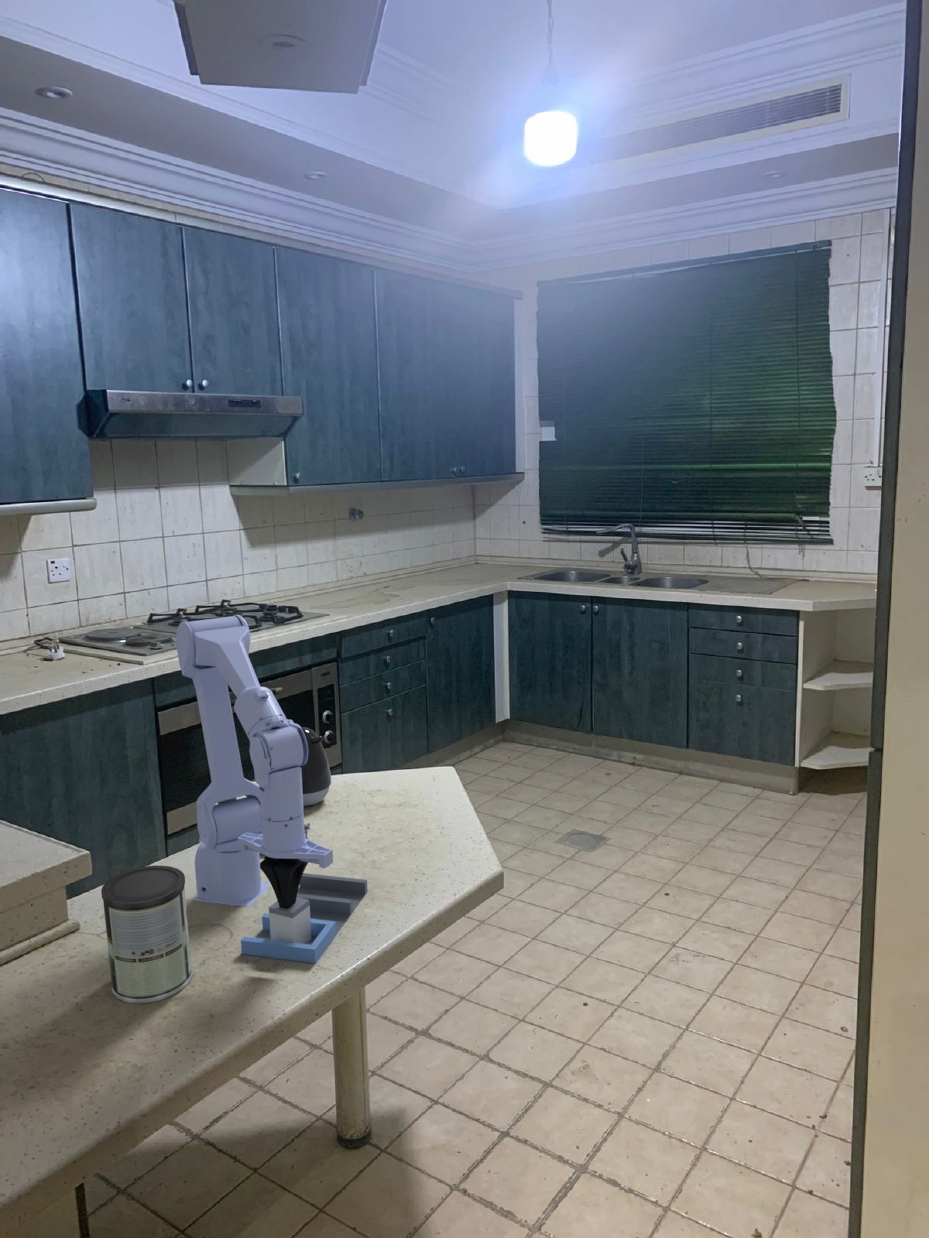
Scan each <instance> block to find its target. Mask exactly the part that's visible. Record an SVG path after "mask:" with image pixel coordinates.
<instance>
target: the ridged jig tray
mask: <svg viewBox="0 0 929 1238" xmlns="http://www.w3.org/2000/svg"><path fill="white" fill-rule="evenodd" d="M368 892H369V891H368V879H363V878H354V877H353V878H352V877H345V876H344V877H343V876H335V875H334V876H333V875H324V874H317V873H316V874H314V873H304V872H303V875H302V877H301V880H300V884H299V888H298V892H297V897H299V898H303V899H308V900H309V902H310V921H311V940H310V941H308V942H307V943H306V944H300V943H292V942H284V941H276V940H271V935H270V919H269V913H264V914H263V915H262V916H261V921H262V929H261V931H260V932H259V933H258V935H256V936H255V937H250V936H243V937H242V938H241V939H240V946H241V947H240V949H241V954H240V956H248V957H255V958H261V959H262V958H263V959H270V960H279V961H285V962H291V963H292V962H295V963H300V964H301V963H302V964H309V965H316V964H317V963H318V961H319V960H320V958H321V957H322V956H323V954H324V953H325V952H326V950H327V949H328V947H329V946H330V945H331V943H332V942H333V940H334V939H335V937H336V936H337V934H338V933H340V930H342V928H343V926H344V925H345V924H346V923H347V921H348V920H349V918H350V917H351V916H352V914H353V913H354V912H355V910H356V908H357V907H358V906H359V904H360V903H361V901H362V900H363V899H364V897H366V895H367V893H368Z"/></svg>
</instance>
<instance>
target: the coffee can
mask: <svg viewBox="0 0 929 1238" xmlns="http://www.w3.org/2000/svg"><path fill="white" fill-rule="evenodd" d="M185 884H186V875H185V874H184V872H183V871H182V870H180V869H179V868H177V867H173V866H168V865H146V866H145V865H144V866H140V867H136V868H132V869H128V870H126V871H123V872H120V873H118V874H116V875H114V876H112V877H111V878H110V879H107V881H106V882H105V883H104V884H103V886H102V887H101V890H100V891H101V899H102V900H103V901H102V902H103V911H104V919H105V920H104V921H105V931H106V940H107V952H108V959H109V962H108V963H109V968H110V969H109V971H110V978H111V992H112V994H113V996H114V997H115V998H116V999H118V1000H120V1001H122V1002H124V1003H129V1004H149V1003H154V1002H159V1001H161V1000H165V999H167V998H170V997H172V996H174V995H176V994H178V993H180V991H182V990H183V989H184V988H185V987H187V985H189V983H190V982H191V979H192V978H193V969H192V960H191V959H192V958H191V948H190V937H189V925H188V911H187V901H186V890H185V889H186V887H185Z"/></svg>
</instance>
